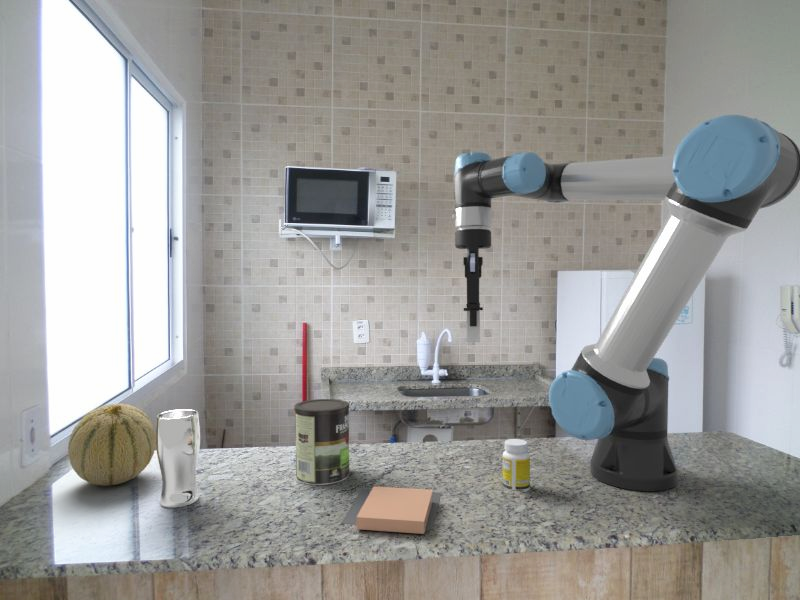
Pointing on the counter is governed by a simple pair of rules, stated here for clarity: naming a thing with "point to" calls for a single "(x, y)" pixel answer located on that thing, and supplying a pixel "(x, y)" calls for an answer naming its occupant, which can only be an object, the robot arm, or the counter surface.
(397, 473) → the counter surface
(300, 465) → the coffee can
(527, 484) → the supplement bottle
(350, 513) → the mat
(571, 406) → the robot arm
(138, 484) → the counter surface
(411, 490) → the tile
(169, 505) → the beer glass
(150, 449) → the cantaloupe
